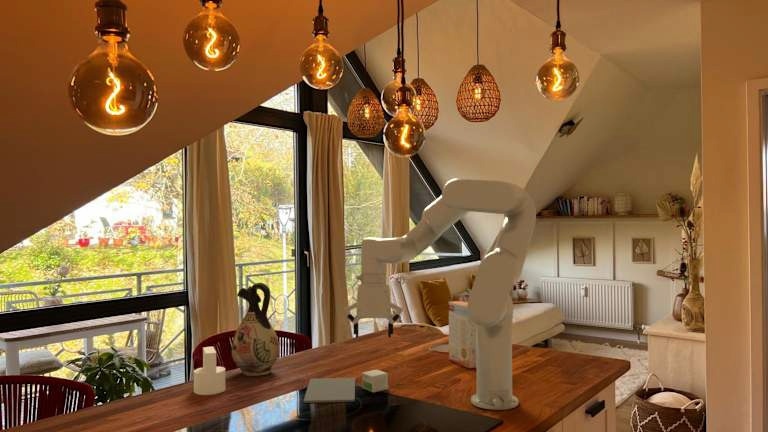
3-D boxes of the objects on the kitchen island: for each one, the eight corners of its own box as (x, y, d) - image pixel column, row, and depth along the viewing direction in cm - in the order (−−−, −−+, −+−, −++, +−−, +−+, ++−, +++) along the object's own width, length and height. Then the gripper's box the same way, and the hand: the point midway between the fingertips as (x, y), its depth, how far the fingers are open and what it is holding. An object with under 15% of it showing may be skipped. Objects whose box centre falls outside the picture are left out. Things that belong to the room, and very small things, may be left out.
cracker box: (484, 367, 197) (483, 305, 197) (468, 369, 194) (467, 306, 195) (463, 358, 210) (462, 300, 210) (448, 360, 207) (447, 301, 208)
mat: (354, 401, 162) (354, 399, 162) (303, 402, 161) (303, 400, 161) (355, 379, 184) (355, 377, 184) (310, 380, 183) (310, 378, 183)
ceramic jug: (221, 376, 189) (220, 283, 189) (253, 365, 203) (252, 278, 203) (262, 382, 181) (261, 285, 181) (292, 370, 195) (292, 280, 195)
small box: (361, 388, 174) (361, 372, 174) (377, 385, 178) (377, 368, 178) (372, 393, 170) (372, 376, 170) (388, 389, 173) (388, 372, 173)
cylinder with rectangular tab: (192, 388, 176) (192, 348, 176) (223, 384, 180) (223, 345, 180) (195, 396, 168) (194, 354, 168) (227, 392, 171) (226, 351, 171)
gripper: (344, 280, 170) (343, 339, 170) (403, 280, 171) (403, 339, 171) (344, 277, 177) (344, 334, 177) (401, 277, 178) (401, 334, 178)
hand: (373, 336), depth 174 cm, fingers open, 9 cm apart
